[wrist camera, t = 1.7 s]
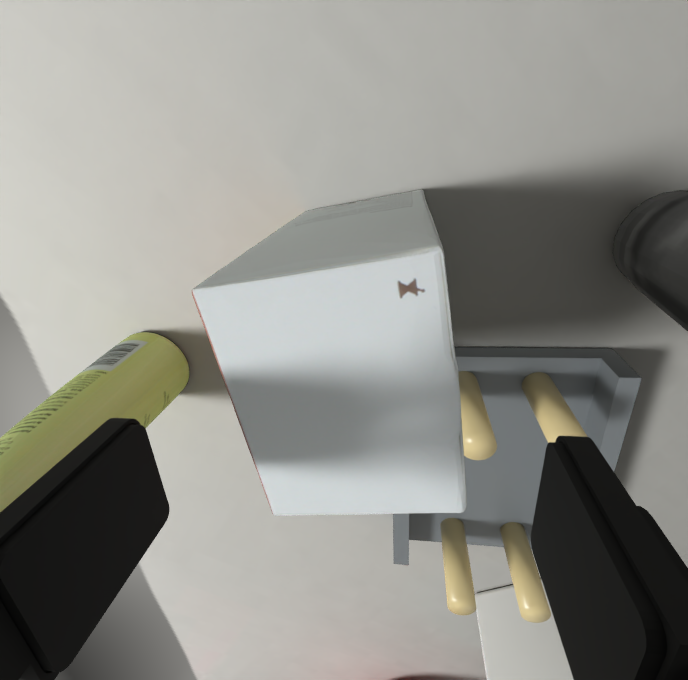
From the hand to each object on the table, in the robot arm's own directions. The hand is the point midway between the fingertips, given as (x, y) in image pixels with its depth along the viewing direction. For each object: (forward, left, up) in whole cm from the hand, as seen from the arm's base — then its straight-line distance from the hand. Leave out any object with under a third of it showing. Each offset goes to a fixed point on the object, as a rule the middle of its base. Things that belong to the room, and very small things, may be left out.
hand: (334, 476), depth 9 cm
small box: (-1, 0, -15) cm, 15 cm away
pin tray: (+11, +7, -15) cm, 20 cm away
